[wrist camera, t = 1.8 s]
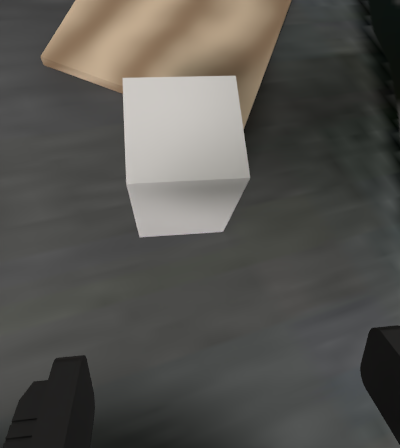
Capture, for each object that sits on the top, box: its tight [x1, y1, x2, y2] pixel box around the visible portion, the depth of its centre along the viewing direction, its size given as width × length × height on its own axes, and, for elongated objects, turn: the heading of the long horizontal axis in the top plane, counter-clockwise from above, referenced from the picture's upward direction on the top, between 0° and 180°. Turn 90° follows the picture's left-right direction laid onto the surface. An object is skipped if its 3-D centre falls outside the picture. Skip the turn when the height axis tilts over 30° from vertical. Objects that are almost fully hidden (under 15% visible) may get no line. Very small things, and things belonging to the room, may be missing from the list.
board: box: [41, 0, 291, 130], centre depth 34 cm, size 18×18×1 cm
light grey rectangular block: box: [123, 76, 250, 237], centre depth 25 cm, size 6×6×10 cm
